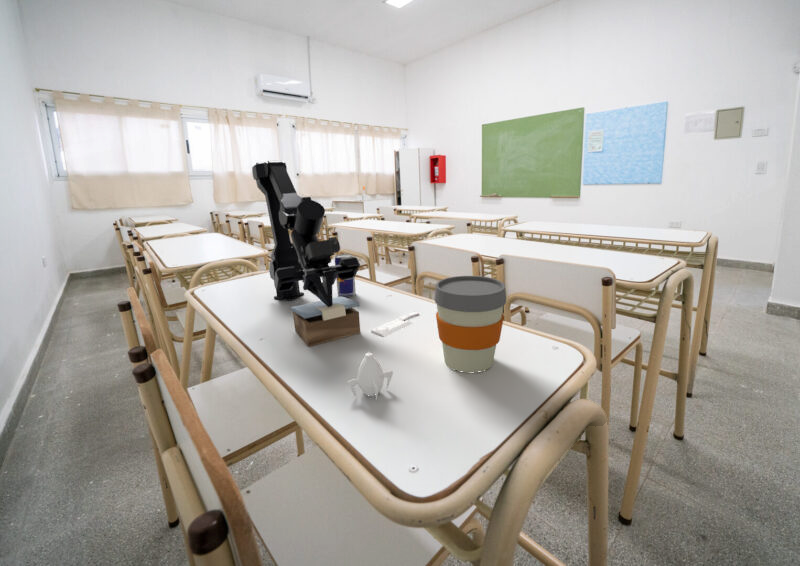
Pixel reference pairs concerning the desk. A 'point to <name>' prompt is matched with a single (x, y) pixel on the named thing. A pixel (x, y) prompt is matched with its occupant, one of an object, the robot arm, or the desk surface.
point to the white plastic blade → (394, 325)
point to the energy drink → (345, 281)
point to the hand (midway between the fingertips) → (330, 305)
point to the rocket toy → (370, 376)
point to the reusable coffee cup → (469, 320)
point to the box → (326, 327)
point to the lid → (325, 308)
